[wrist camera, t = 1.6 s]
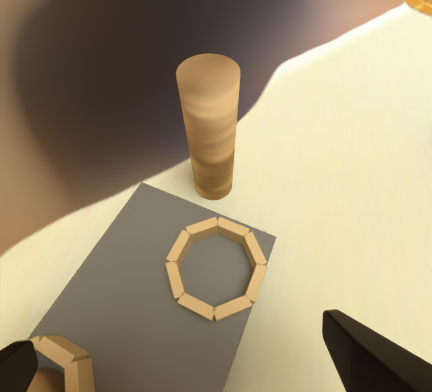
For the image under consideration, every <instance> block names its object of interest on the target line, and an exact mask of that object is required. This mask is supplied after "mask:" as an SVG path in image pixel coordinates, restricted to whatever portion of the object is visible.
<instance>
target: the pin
mask: <svg viewBox="0 0 432 392" xmlns="http://www.w3.org/2000/svg"><path fill="white" fill-rule="evenodd" d="M176 76H177V82H178V88H179V94H180V99H181V105H182V111H183V116H184V122H185V128H186V134H187V139H188V145H189V151H190V157H191V162H192V168H193V174H194V179H195V185H196V190H197V192H198V193H199V194H200V195H201V196H202V197H204V198H206V199H209V200H218V199H221V198H223V197H225V196H226V195H227V194H228V193H229V192H230V190H231V188H232V177H233V163H234V150H235V136H236V123H237V108H238V96H239V82H240V69H239V66H238V64H237V63H236V62H235V61H234V60H232V59H230V58H228V57H226V56H223V55H219V54H201V55H196V56H193V57H190V58H188V59H187V60H185V61H184V62H182V63H181V64H180V65H179V67H178V69H177V72H176Z"/></svg>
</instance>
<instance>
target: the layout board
mask: <svg viewBox="0 0 432 392" xmlns="http://www.w3.org/2000/svg"><path fill="white" fill-rule="evenodd" d="M275 239H276V237H275V236H273V235H270V234H268V233H265V232H263V231H260V230H258V229H256V228H253V227H251V226H248V225H246V224H243V223H241V222H238V221H236V220H233V219H231V218H228V217H226V216H224V215H221V214H219V213H216V212H214V211H211V210H209V209H206V208H204V207H201V206H199V205H196V204H194V203H192V202H189V201H187V200H184V199H182V198H179V197H177V196H174V195H172V194H169V193H167V192H165V191H162V190H160V189H157V188H155V187H152V186H150V185H147V184H145V183H142V182H141V184H140V185H139V187H138V188H137V189H136V191H135V192H134V193H133V195H132V196H131V198H130V199H129V200H128V202H127V203H126V204H125V206H124V207H123V209H122V210H121V211H120V213H119V214H118V215H117V217H116V218H115V220H114V221H113V222H112V224H111V225H110V226H109V228H108V229H107V231H106V232H105V233H104V235H103V236H102V237H101V239H100V240H99V242H98V243H97V244H96V246H95V247H94V248H93V250H92V251H91V253H90V254H89V255H88V257H87V258H86V259H85V261H84V262H83V264H82V265H81V266H80V268H79V269H78V270H77V272H76V273H75V275H74V276H73V277H72V279H71V280H70V281H69V283H68V284H67V286H66V287H65V288H64V290H63V291H62V292H61V294H60V295H59V297H58V298H57V299H56V301H55V302H54V303H53V305H52V306H51V308H50V309H49V310H48V312H47V313H46V314H45V316H44V317H43V319H42V320H41V321H40V323H39V324H38V326H37V327H36V328H35V330H34V331H33V332H32V334H31V335H30V337H29V338H28V339H27V340H31V341H32V342H33V344H34V347H35V351H36V354H37V358H38V362H39V364H38V369H37V372H36V374H35V376H34V378H33V380H32V382H31V384H30V386H29V388H28V390H27V392H222V391H223V389H224V386H225V383H226V380H227V377H228V374H229V371H230V368H231V366H232V363H233V360H234V357H235V354H236V351H237V348H238V346H239V343H240V340H241V337H242V334H243V331H244V328H245V325H246V323H247V320H248V317H249V314H250V311H251V308H252V305H253V303H255V301H256V298H257V295H258V293H259V290H260V287H261V284H262V281H263V278H264V275H265V272H266V269H267V267H266V265H267V262H268V260H269V257H270V254H271V251H272V248H273V245H274V242H275Z"/></svg>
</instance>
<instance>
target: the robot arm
mask: <svg viewBox="0 0 432 392" xmlns="http://www.w3.org/2000/svg"><path fill="white" fill-rule="evenodd" d="M322 334H323V339H324V342H325V344H326V346H327V348H328V351H329V353H330V355H331V358H332V360H333V362H334V365H335V367H336V369H337V372H338V374H339V376H340V378H341V381H342V383H343V385H344V388H345V390H346V392H432V364H430V363H428V362H426V361H425V360H423V359H421V358H420V357H418V356H416V355H414V354H413V353H411V352H409V351H408V350H406V349H404V348H402V347H401V346H399V345H397V344H396V343H394V342H392V341H390V340H389V339H387V338H385V337H384V336H382V335H380V334H379V333H377V332H375V331H373V330H372V329H370V328H368V327H367V326H365V325H363V324H361V323H360V322H358V321H356V320H355V319H353V318H351V317H349V316H348V315H346V314H344V313H343V312H341V311H339V310H336V309H334V310H325V311H324V312H323V328H322ZM38 364H39V362H38V358H37V354H36V351H35V347H34V344H33V342H32V341H31V340H22V341H16V342H14V343H12V344H10V345H8V346H7V347H5V348H4V349H2V350H0V392H27V390H28V388H29V386H30V384H31V382H32V380H33V378H34V376H35V374H36V372H37V369H38Z"/></svg>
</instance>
